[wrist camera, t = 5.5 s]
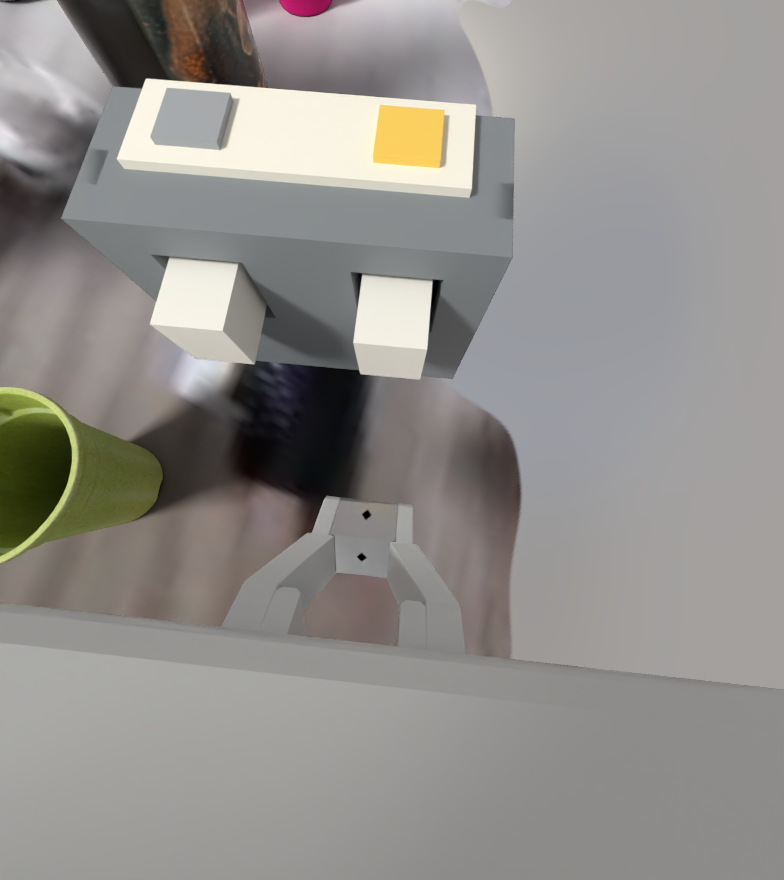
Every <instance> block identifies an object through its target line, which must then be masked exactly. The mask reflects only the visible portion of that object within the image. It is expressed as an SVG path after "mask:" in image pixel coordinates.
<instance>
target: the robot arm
mask: <svg viewBox="0 0 784 880" xmlns="http://www.w3.org/2000/svg"><path fill="white" fill-rule="evenodd" d="M413 509H414V507H413V505H410V504H399V503H388V502H377V501H365V500H358V499H350V498H342V497H341V498H339V497H332V496H326V498H325V499H324V501H323V504H322V507H321V509H320V512H319V515H318V518H317V520H316V523H315V526H314V528H313V531H312V533H307V534H305V535H304V536H303V537H301V538H300V539H299V540H297V541H296V542H295V543H294V544H292V545H291V546H290V547H288V548H287V549H286V550H284V551H283V552H282V553H281V554H279V555H278V556H277V557H275V558H274V559H273V560H271V561H270V562H269V563H267V564H266V565H265V566H264V567H262V568H261V569H260V570H258V571H257V572H256V573H254V574H253V575H252V576H251V577H249V578H248V579H247V580H245V582H244V583H243V585H242V587H241V589H240V591H239V593H238V595H237V597H236V599H235V601H234V603H233V605H232V607H231V609H230V610H229V612H228V614H227V616H226V618H225V620H224V622H223V624H222V626H221V627H219V626H210V625H201V624H192V623H183V622H174V621H165V620H156V619H147V618H138V617H129V616H121V615H112V614H103V613H94V612H85V611H76V610H67V609H58V608H49V607H40V606H31V605H22V604H13V603H5V602H0V880H784V689H775V688H765V687H757V686H748V685H739V684H730V683H720V682H712V681H703V680H694V679H685V678H676V677H667V676H658V675H649V674H640V673H631V672H622V671H613V670H604V669H595V668H587V667H578V666H568V665H559V664H550V663H541V662H533V661H524V660H515V659H506V658H497V657H488V656H479V655H470V654H466V653H465V644H464V636H463V627H462V619H461V611H460V604H459V603H458V602H457V600H456V599H455V597H454V596H453V594H452V593H451V592H450V590H449V589H448V587H447V586H446V584H445V583H444V582H443V580H442V579H441V577H440V576H439V574H438V573H437V572H436V570H435V569H434V567H433V566H432V564H431V563H430V562H429V560H428V559H427V557H426V556H425V554H424V553H423V552H422V550H421V549H420V547H419V546H418V545H417V544H413ZM336 573H348V574H360V575H368V576H375V577H383V578H387V581H388V584H389V586H390V588H391V590H392V592H393V594H394V596H395V599H396V601H397V603H398V605H399V607H400V612H399V618H398V624H397V630H396V636H395V642H394V646H390V645H381V644H372V643H363V642H354V641H345V640H336V639H327V638H318V637H309V636H307V632H306V626H305V619H304V613H303V610H304V609H305V608H306V607H307V606H308V605H309V604H310V603H311V601H312V600H313V599H314V598H315V597H316V596H317V595H318V593H319V592H320V591H321V590H322V589H323V588H324V587H325V586H326V584H327V583H328V582H329V581H330V580H331V579H332V578H333V577H334V575H335V574H336Z"/></svg>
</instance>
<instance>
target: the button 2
mask: <svg viewBox="0 0 784 880" xmlns="http://www.w3.org/2000/svg"><path fill="white" fill-rule="evenodd" d="M432 282H433V279H423V278H412V277H400V276H389V275H378V274H366V273H362V281H361V288H360V296H359V303H358V310H357V318H356V325H355V333H354V340H353V344H354V349H355V353H356V358H357V362H358V366H359V371H360V374H365V375H376V376H387V377H398V378H408V379H419V380H420V378H421V373H422V369H423V365H424V361H425V357H426V353H427V346H428V333H429V321H430V308H431V295H432Z"/></svg>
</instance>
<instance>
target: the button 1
mask: <svg viewBox="0 0 784 880" xmlns="http://www.w3.org/2000/svg"><path fill="white" fill-rule="evenodd" d="M266 307H267V303H266V301H265V299H264V298H263V296H262V294H261V293H260V291H259V289H258V288H257V286H256V285H255V283H254V281H253V280H252V278H251V276H250V275H249V273H248V271H247V270H246V268H245V267H244V265H243V263H241V262H230V261H218V260H207V259H196V258H184V257H173V256H170V257H169V260H168V264H167V267H166V271H165V274H164V277H163V281H162V284H161V288H160V291H159V295H158V298H157V301H156V305H155V308H154V312H153V315H152V319H151V322H150V325H151V326H153V327H154V328H155V329H157V330H158V331H159V332H161V333H162V334H163V335H165V336H166V337H167V338H169V339H170V340H171V341H173V342H174V343H175V344H177V345H178V346H179V347H181V348H182V349H183V350H185V351H186V352H187V353H189V354H190V355H191V356H193V357H194V358H195V359H203V360H214V361H224V362H235V363H246V364H255V361H256V356H257V351H258V346H259V341H260V336H261V332H262V327H263V322H264V317H265V312H266Z"/></svg>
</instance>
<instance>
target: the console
mask: <svg viewBox="0 0 784 880" xmlns="http://www.w3.org/2000/svg"><path fill="white" fill-rule="evenodd" d="M514 131H515V119H513V118H501V117H488V116H476V105H472V104H460V103H447V102H434V101H422V100H409V99H397V98H384V97H372V96H359V95H347V94H334V93H322V92H309V91H297V90H284V89H272V88H259V87H247V86H234V85H222V84H209V83H197V82H184V81H172V80H159V79H147V78H146V80H145V82H144V85H143V88H142V89H140V88H127V87H115V86H113V87H112V89H111V92H110V94H109V97H108V100H107V102H106V105H105V107H104V110H103V112H102V115H101V117H100V120H99V123H98V125H97V128H96V130H95V133H94V135H93V138H92V140H91V143H90V146H89V148H88V151H87V153H86V156H85V158H84V161H83V163H82V166H81V169H80V171H79V174H78V176H77V179H76V181H75V184H74V186H73V189H72V192H71V194H70V197H69V199H68V202H67V204H66V207H65V209H64V212H63V215H62V217H61V219H62V220H63V221H65V222H66V223H67V224H68V225H69V226H70V227H71V228H73V229H74V230H75V231H76V232H77V233H78V234H80V235H81V236H82V237H83V238H84V239H85V240H86V241H88V242H89V243H90V244H91V245H92V246H93V247H94V248H96V249H97V250H98V251H99V252H100V253H101V254H103V255H104V256H105V257H106V258H107V259H108V260H109V261H111V262H112V263H113V264H114V265H115V266H116V267H117V268H119V269H120V270H121V271H122V272H123V273H124V274H126V275H127V276H128V277H129V278H130V279H131V280H132V281H134V282H135V283H136V284H137V285H138V286H139V287H140V288H142V289H143V290H144V291H145V292H146V293H147V294H149V295H150V296H151V297H152V298H153V299H154V300H155V301H157V298H158V295H159V291H160V288H161V284H162V281H163V277H164V274H165V271H166V267H167V264H168V260H169V257H170V256H173V257H184V258H196V259H207V260H218V261H230V262H241V263H243V265H244V267H245V268H246V270H247V271H248V273H249V275H250V276H251V278H252V280H253V281H254V283H255V285H256V286H257V288H258V289H259V291H260V293H261V294H262V296H263V298H264V299H265V301H266V303H267V307H266V312H265V317H264V322H263V327H262V332H261V336H260V341H259V346H258V351H257V356H256V361H265V362H276V363H287V364H298V365H309V366H319V367H330V368H341V369H352V370H359V366H358V362H357V358H356V353H355V349H354V344H353V340H354V333H355V325H356V318H357V310H358V303H359V296H360V288H361V281H362V273H366V274H378V275H389V276H400V277H412V278H423V279H433V282H432V295H431V308H430V321H429V333H428V346H427V353H426V357H425V361H424V365H423V369H422V373H421V376H428V377H439V378H450V379H452V378H453V377H454V374H455V372H456V370H457V368H458V366H459V364H460V362H461V360H462V358H463V356H464V354H465V352H466V350H467V348H468V346H469V344H470V342H471V340H472V338H473V336H474V334H475V332H476V330H477V328H478V326H479V324H480V322H481V320H482V318H483V316H484V314H485V312H486V310H487V308H488V306H489V304H490V302H491V300H492V298H493V296H494V294H495V292H496V290H497V288H498V286H499V284H500V281H501V280H502V278H503V276H504V274H505V272H506V270H507V268H508V265H509V264H510V262H511V260H512V258H513V257H512V256H513V254H512V253H513V195H514V194H513V192H514Z"/></svg>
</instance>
